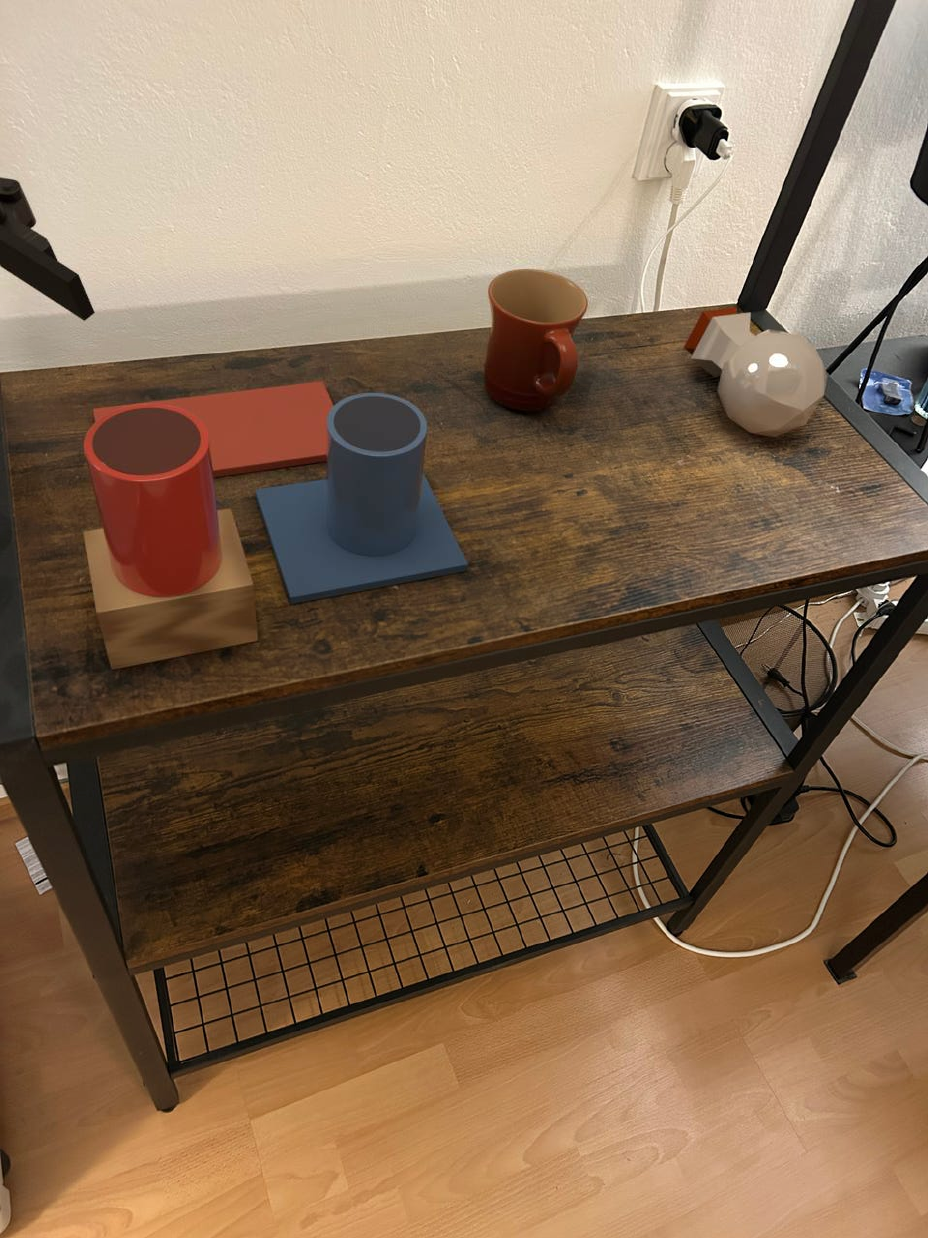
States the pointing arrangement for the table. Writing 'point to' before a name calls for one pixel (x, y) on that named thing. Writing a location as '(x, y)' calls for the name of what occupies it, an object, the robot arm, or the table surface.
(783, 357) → the potion bottle
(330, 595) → the blue mat
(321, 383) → the red mat
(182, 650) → the wooden block
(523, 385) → the mug
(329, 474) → the blue cup
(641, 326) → the table surface
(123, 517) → the red cup
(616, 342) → the table surface
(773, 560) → the table surface
